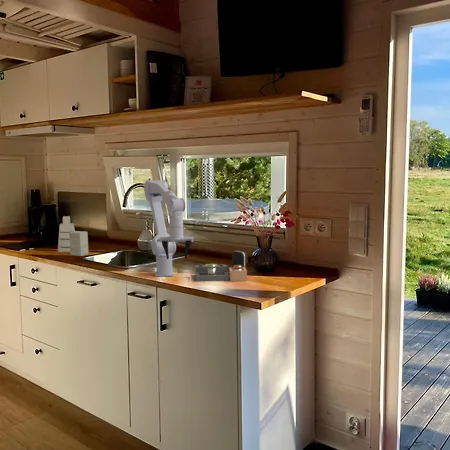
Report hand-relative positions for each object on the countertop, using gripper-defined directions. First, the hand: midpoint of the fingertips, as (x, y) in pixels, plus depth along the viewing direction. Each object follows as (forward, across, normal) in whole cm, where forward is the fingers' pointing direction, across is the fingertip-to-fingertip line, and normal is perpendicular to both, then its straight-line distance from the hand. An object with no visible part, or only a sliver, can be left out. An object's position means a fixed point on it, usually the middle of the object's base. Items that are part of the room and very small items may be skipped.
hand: (176, 258), depth 210 cm
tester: (+10, +15, +3) cm, 18 cm away
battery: (+10, +28, +7) cm, 31 cm away
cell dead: (+9, +26, -1) cm, 28 cm away
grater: (+10, -66, +87) cm, 110 cm away
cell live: (+9, +15, +1) cm, 18 cm away
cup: (+10, +26, -1) cm, 28 cm away
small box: (+10, -56, +71) cm, 91 cm away
